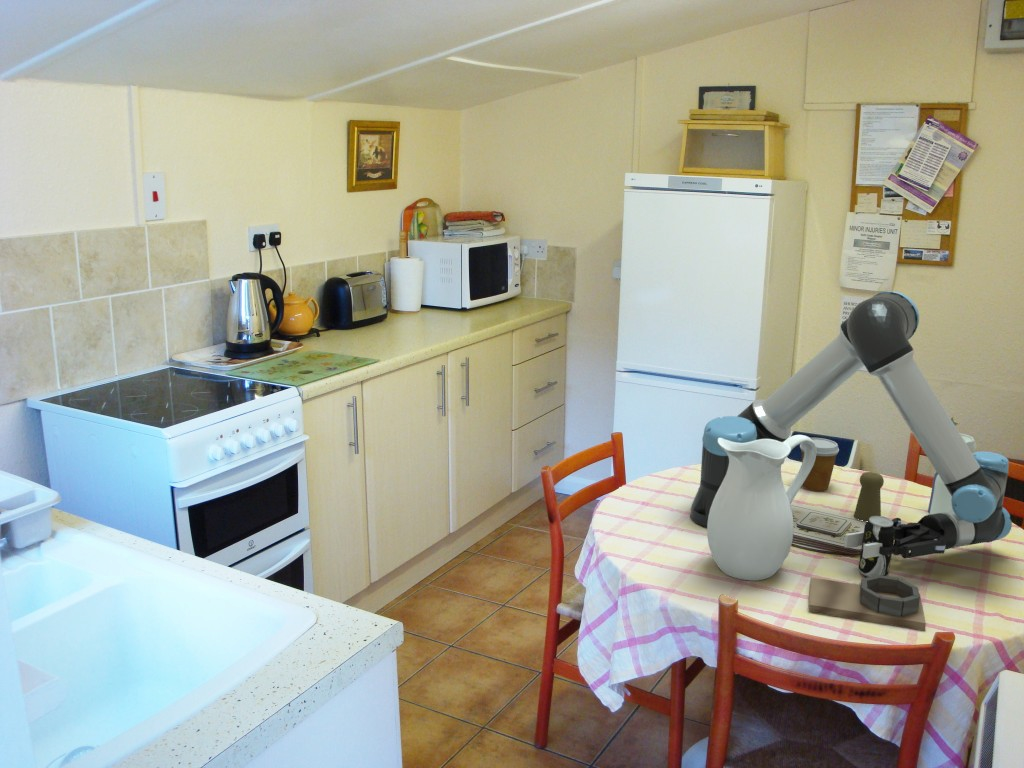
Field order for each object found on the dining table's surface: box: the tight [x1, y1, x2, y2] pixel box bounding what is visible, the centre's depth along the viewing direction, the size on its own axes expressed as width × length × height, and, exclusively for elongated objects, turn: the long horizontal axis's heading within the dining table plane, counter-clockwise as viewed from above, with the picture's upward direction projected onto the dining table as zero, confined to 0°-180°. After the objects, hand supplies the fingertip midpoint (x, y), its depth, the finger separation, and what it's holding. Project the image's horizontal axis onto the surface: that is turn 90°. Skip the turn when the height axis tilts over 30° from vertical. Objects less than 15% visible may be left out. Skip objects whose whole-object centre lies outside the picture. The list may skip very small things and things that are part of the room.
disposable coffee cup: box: [799, 437, 840, 492], centre depth 234 cm, size 10×10×12 cm
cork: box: [853, 471, 885, 522], centre depth 214 cm, size 6×6×11 cm
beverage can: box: [858, 515, 895, 578], centre depth 184 cm, size 6×6×12 cm
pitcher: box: [706, 434, 817, 581], centre depth 186 cm, size 24×17×28 cm
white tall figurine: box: [927, 416, 977, 515], centre depth 215 cm, size 8×9×25 cm
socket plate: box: [808, 575, 927, 631], centre depth 173 cm, size 20×12×4 cm, turn 71°
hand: (855, 546), depth 183 cm, fingers closed on beverage can, 5 cm apart
